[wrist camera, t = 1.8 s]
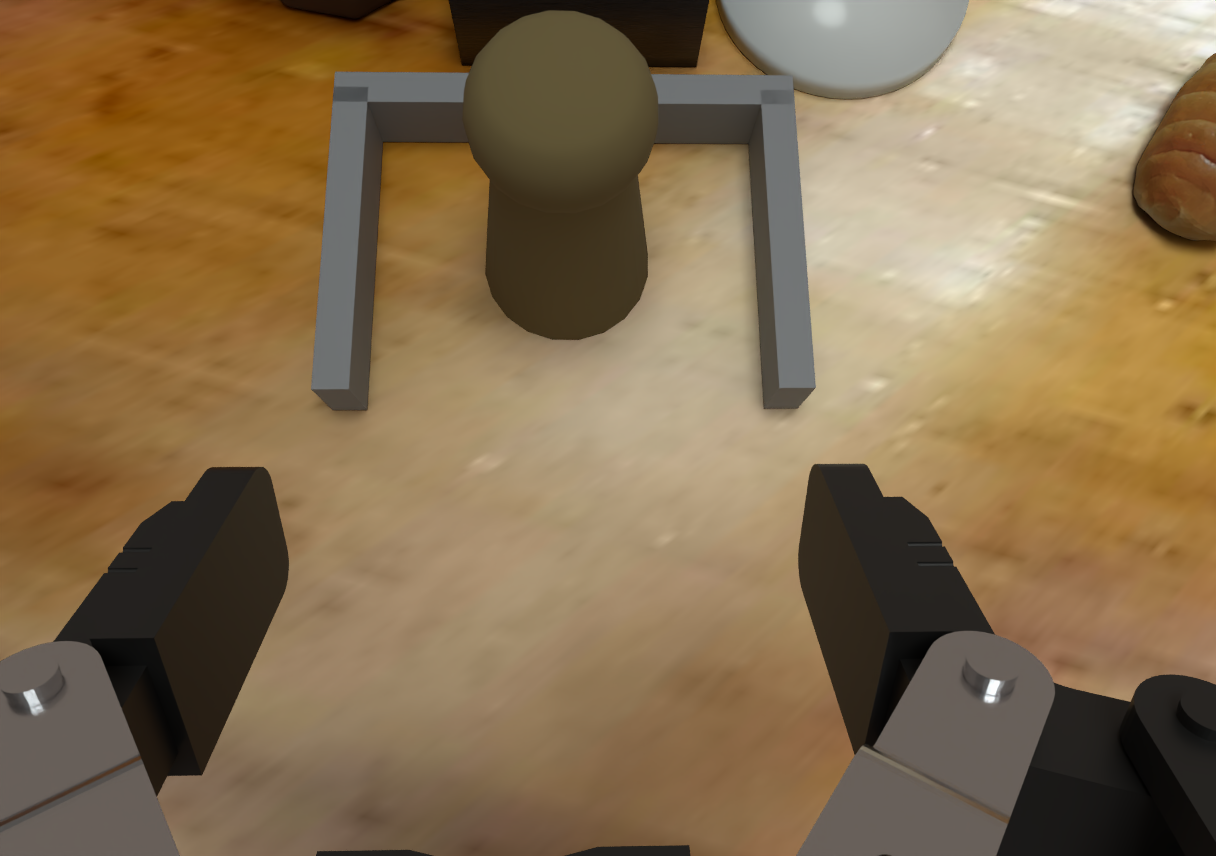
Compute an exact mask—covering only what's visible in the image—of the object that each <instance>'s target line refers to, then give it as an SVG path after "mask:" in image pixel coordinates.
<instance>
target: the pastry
mask: <svg viewBox="0 0 1216 856" xmlns="http://www.w3.org/2000/svg"><path fill="white" fill-rule="evenodd" d="M1133 193H1134V197H1135V198H1136V200H1137V203H1138V206H1139V207H1141V208H1142V209H1143V210H1144V211H1146V212H1147V213H1148V214H1149V215H1150V216H1151V217H1152V218H1153V219H1154V220H1155V221H1156V222H1157V223H1158V224H1159V225H1160V226H1162V227H1163V228H1164V229H1166V230H1168V231H1170V232H1172V233H1174V234H1177V235H1179V236H1181V237H1184V238H1187V239H1190V240H1214V241H1216V53H1215V54H1213V55H1212V56H1211V57H1209V58H1208V59H1207V60H1206V61H1205V63H1204V64H1203V66H1202V67H1201V68H1200V70H1199V71H1197V72H1196V73H1195V75H1194V76H1193V77H1192V78H1191V79H1190V80H1188V81H1187V82H1186V83H1185V84H1184V85H1183V87H1182V88H1181V89H1180V91H1179V92H1178V94H1177V96H1176V97H1175V99H1174V100H1173V102H1172V104H1171V106H1170V108H1169V110H1168V111H1167V113H1166V115H1165V116H1164V118H1163V120H1162V122H1161V123H1160V125H1159V127H1158V128H1157V130H1156V132H1155V134H1154V136H1153V138H1152V139H1151V141H1150V142H1149V144H1148V146H1147V148H1146V149H1145V151H1144V153H1143V155H1142V157H1141V159H1140V161H1139V163H1138V165H1137V169H1136V179H1135V185H1134V190H1133Z"/></svg>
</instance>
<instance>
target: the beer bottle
mask: <svg viewBox="0 0 1216 856" xmlns="http://www.w3.org/2000/svg"><path fill="white" fill-rule="evenodd" d="M281 1H282V3H284V4H285V5H287V6H289V7H293V8H298V9H304V10H309V11H315V12H320V13H326V14H331V15H337V16H342V17H347V18H353V19H358V18H360V17H362V16H364V15H366V14H368V13H370V12H372V11H373V10H375V9H377V8H379V7H381V6H383V5H385V4H387V3H388V2H390V1H392V0H281Z"/></svg>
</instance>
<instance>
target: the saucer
mask: <svg viewBox="0 0 1216 856" xmlns="http://www.w3.org/2000/svg"><path fill="white" fill-rule="evenodd" d="M716 2H717V6H718V10H719V14H720V17H721V19H722V22H723V24H724V26H725V28H726V31H727V32H728V34H729V35H730V37H731V39H732V40H733V42H734V43H735V45H736V46H737V47H738V48H739V50H740V51H741V52H742V53H743V54H744V56H746V57H747V58H748V59H749V60H750V61H751V62H752V63H753V64H754V65H755V66H756V67H758V68H759V69H760V70H762V71H763V72H764V73H766V74H767V75H793V88H794V89H796V90H799V91H802V92H806V93H809V94H812V95H817V96H822V97H828V98H839V99H858V98H868V97H873V96H879V95H883V94H886V93H889V92H893V91H895V90H898V89H900V88H902V87H904V86H907V85H909V84H910V83H912V82H913V81H915V80H917V79H918V78H920V77H921V76H923V75H924V74H925V73H926V72H927V71H929V70H930V69H931V68H932V67H933V66H934V65H935V64H936V63H937V61H938V60H939V59H940V58H941V57H942V55H943V54H944V52H945V51H946V49H947V48H948V46H949V45H950V43H951V41H952V40H953V38H954V36H955V35H956V33H957V31H958V30H959V28H960V26H961V23H962V21H963V19H964V17H965V14H966V10H967V6H968V2H969V0H716Z"/></svg>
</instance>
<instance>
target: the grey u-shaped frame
mask: <svg viewBox="0 0 1216 856" xmlns="http://www.w3.org/2000/svg"><path fill="white" fill-rule="evenodd" d="M468 74H469V73H413V72H335V81H334V94H333V107H332V120H331V134H330V147H329V160H328V173H327V187H326V200H325V213H324V226H323V240H322V253H321V266H320V279H319V293H318V306H317V319H316V332H315V346H314V359H313V372H312V385H311V390H312V391H313V392H314V393H316V394H317V395H318V396H319V397H320V398H321V399H322V400H323V401H324V402H325V403H326V404H327V405H328V406H329V407H330V408H331V409H332V410H367V406H368V389H369V372H370V354H371V337H372V320H373V303H374V286H375V269H376V252H377V235H378V218H379V201H380V184H381V166H382V149H383V142H468V138H467V135H466V132H465V128H464V124H463V120H462V116H463V97H464V88H465V83H466V79H467V76H468ZM651 75H652V78H653V81H654V83H655V87H656V90H657V94H658V129H657V135H656V138H655V141H654V143H710V144H749V161H750V178H751V195H752V212H753V229H754V246H755V263H756V280H757V298H758V315H759V332H760V349H761V366H762V383H763V400H764V408H798V407H799V406H800V405H801V404H802V403H803V401H804V400H805V399H806V398H807V397H808V396H809V395H810V394H811V392H812V391H813V390H814V389H815V388H816V385H815V372H814V358H813V345H812V331H811V318H810V304H809V291H808V277H807V264H806V250H805V237H804V223H803V210H802V196H801V183H800V169H799V156H798V142H797V129H796V115H795V102H794V88H793V75H667V74H651Z"/></svg>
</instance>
